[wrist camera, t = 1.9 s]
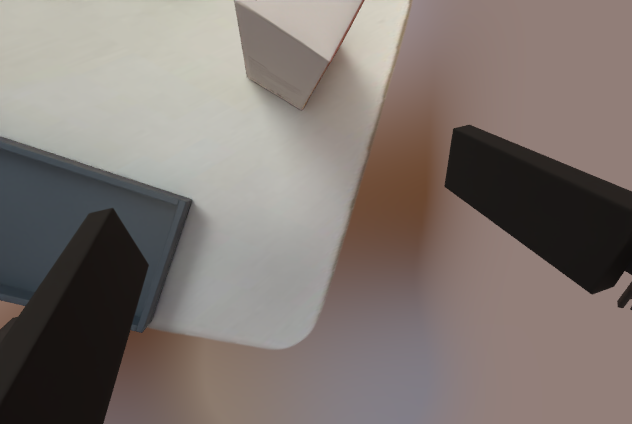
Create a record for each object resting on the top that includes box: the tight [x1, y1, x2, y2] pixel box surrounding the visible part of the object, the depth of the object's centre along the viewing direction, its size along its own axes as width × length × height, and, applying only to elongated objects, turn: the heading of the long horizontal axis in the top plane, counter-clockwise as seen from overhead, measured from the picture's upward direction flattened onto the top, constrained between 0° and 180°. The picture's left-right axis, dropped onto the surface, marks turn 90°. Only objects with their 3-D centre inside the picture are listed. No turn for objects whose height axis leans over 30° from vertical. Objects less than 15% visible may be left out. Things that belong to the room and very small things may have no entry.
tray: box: [0, 137, 192, 333], centre depth 26 cm, size 19×13×2 cm
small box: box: [234, 0, 364, 110], centre depth 23 cm, size 8×6×13 cm
